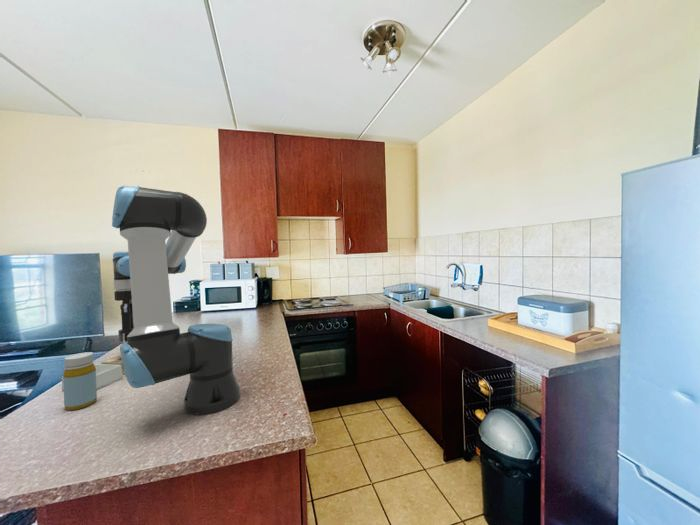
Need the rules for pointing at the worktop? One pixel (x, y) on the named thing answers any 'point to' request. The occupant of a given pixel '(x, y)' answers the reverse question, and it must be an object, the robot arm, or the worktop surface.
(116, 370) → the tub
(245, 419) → the worktop surface
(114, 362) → the eye block
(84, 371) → the bottle
